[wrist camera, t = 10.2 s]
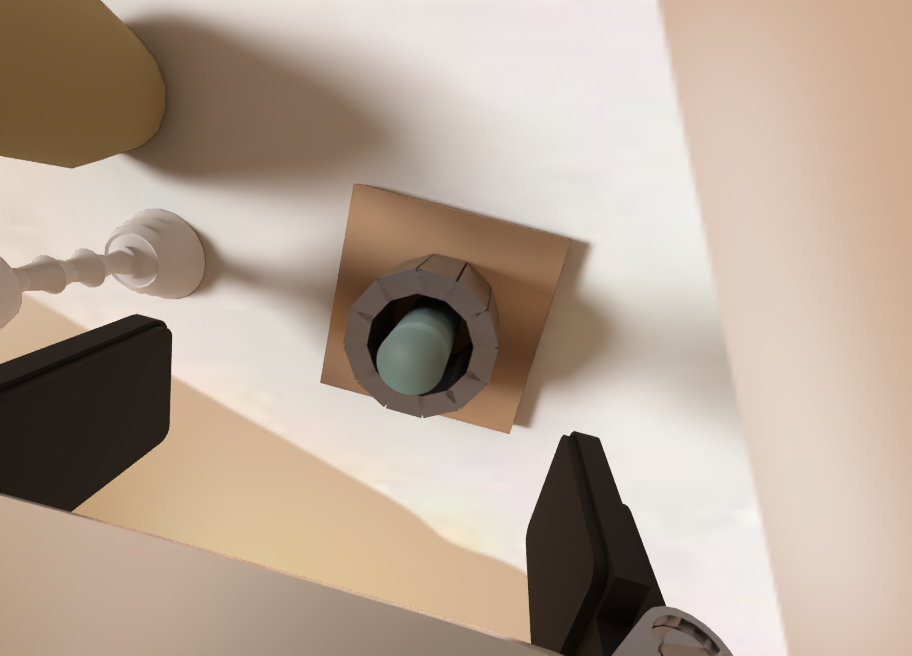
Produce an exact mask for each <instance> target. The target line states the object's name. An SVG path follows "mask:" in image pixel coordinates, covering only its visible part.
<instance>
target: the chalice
mask: <svg viewBox="0 0 912 656" xmlns="http://www.w3.org/2000/svg"><path fill="white" fill-rule="evenodd" d="M204 269H205V257H204V251H203V247H202V245H201V243H200V241H199V238H198V236H197V234H196V233H195V232H194V231H193V229H192V228H191V227H190V226H189V225H188V223H187V222H185V221H184V220H182V219H181V218H180V217H178V216H177V215H175V214H173V213H170V212H167V211H165V210H162V209H147V210H145V211H142V212H139V213H137V214H135V215H134V216H133V217H132V218H131V219H130V220H128V221H126V222H125V223H124V224H123V225H122V226H120V227H117V228H116V229H115V230H114V231H113V232H112V233H111V234H110V237H109V239H108V241H107V244H106V247H105V255H97V254H96V253H94V252H93V251H91V250H88V249H81V248H80V249H78V250H76V251H75V252H74V253H73V254H72V256H71V258H70V259H68V260H66V261H61V260H56V259H54V258H52V257H50V256H47V255H41V256H38V257H36V258H35V260H34V261H33V262H32V263H30V264H28V265H25V266H22V267H19V268H11V267H10V266H9V265H8V264H7V263H6V262H5V260H4V259H3V258H1V257H0V330H1V329H2V328H3V327H4V326H5V325H6V324H7V323H8V322H10V321H11V320H12V319H13V318H14V317H15V315H17V313H18V312H19V309H20V307H21V303H22V292H24V291H39V290H43V291H45V292H48V293H51V294H58V293H60V292H62V291H63V290H64V289H65V287H66V285H68V284H70V283H72V282H80V283H82V284H83V285H85V286H88V287H97V286H100V285H101V284H102V283H103V282H104V279H105V277H106V276H108V275H110V274H112V275H113V276H114V277H115V279H116V280H117V281H119V282H120V283H121V284H123V285H124V286H125V287H127V288H128V289H130V290H132V291H135V292H138V293H143V294H148V295H151V296H158V297H161V298H164V299H179V298H181V297H184V296H187V295H189V294H190V293H192V292H193V291H194V290H195V289H196V288H197V287H198V286H199V284H200V282H201V280H202V278H203V276H204Z"/></svg>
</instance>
